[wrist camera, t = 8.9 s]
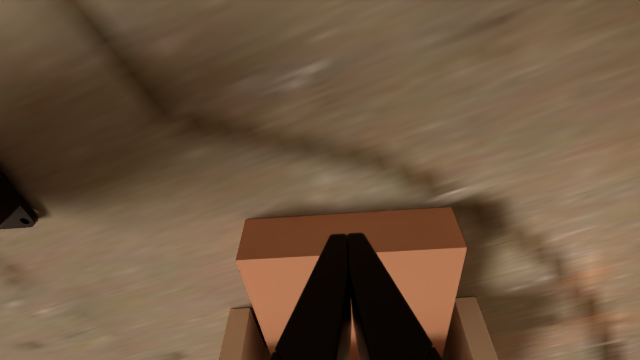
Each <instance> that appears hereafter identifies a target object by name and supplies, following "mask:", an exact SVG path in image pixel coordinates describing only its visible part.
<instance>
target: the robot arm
mask: <svg viewBox="0 0 640 360" xmlns="http://www.w3.org/2000/svg"><path fill="white" fill-rule="evenodd" d="M37 221H38V217H37V215H36V214H35V213H34V211H33V210H32V209H31V208H30V206H29V205H28V204H27V203H26V201H25V200H24V199H23V198H22V196H21V195H20V194H19V193H18V191H17V190H16V189H15V188H14V186H13V185H12V184H11V183H10V181H9V180H8V179H7V178H6V176H5V175H4V174H3V173H2V172H1V170H0V229H11V228H26V227H32V226H34V224H35V223H36V222H37ZM351 306H352V309H351ZM352 318H353V325H354V331H355V336H356V342H357V347H358V353H359V358H360V360H443V359H442V357H441V356H440V354H439V352H438V351H437V349H436V348H435V347H433V343H432V341H431V340H430V338H429V337H428V335H427V333H426V332H425V330H424V329H423V327H422V325H421V324H420V322H419V321H418V319H417V317H416V316H415V314H414V313H413V311H412V309H411V308H410V306H409V305H408V303H407V301H406V300H405V298H404V297H403V295H402V293H401V292H400V290H399V289H398V287H397V285H396V284H395V282H394V281H393V279H392V277H391V276H390V274H389V273H388V271H387V269H386V268H385V266H384V265H383V263H382V261H381V260H380V258H379V257H378V255H377V253H376V252H375V250H374V249H373V247H372V245H371V244H370V242H369V241H368V239H367V237H366V236H365V234H364V233H362V232H358V233H349V234H348V235H346V234H345V233H339V234H331V235H330V236H329V238H328V240H327V242H326V244H325V246H324V248H323V250H322V252H321V254H320V256H319V258H318V260H317V263H316V265H315V267H314V269H313V271H312V273H311V275H310V277H309V279H308V281H307V283H306V285H305V287H304V289H303V291H302V293H301V295H300V298H299V300H298V302H297V304H296V306H295V308H294V310H293V312H292V314H291V316H290V318H289V320H288V322H287V324H286V326H285V328H284V330H283V333H282V335H281V337H280V339H279V341H278V343H277V345H276V347H275V352H273V353H272V355H271V357H270V359H269V360H350V345H351V329H352Z"/></svg>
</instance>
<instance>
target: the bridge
mask: <svg viewBox="0 0 640 360" xmlns="http://www.w3.org/2000/svg"><path fill="white" fill-rule="evenodd" d="M270 357H271V355H270V352H269V349H268V348H265V346H264V343H263V341H262V338H261V335H260V333H259V330H258V328H257V325H256V323H255V320H254V317H253V315H252V312H251V310H250V308H240V309H230V312H229V317H228V321H227V326H226V330H225V335H224V339H223V343H222V348H221V352H220V357H219V360H269V359H270ZM442 359H443V360H498V357H497V354H496V352H495V349H494V346H493V343H492V341H491V338H490V335H489V332H488V330H487V327H486V324H485V322H484V319H483V316H482V313H481V311H480V308H479V305H478V302H477V300H476V297H465V298H456V299H455V303H454V307H453V312H452V316H451V320H450V325H449V329H448V334H447V338H446V342H445V347H444V351H443V356H442Z"/></svg>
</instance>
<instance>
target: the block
mask: <svg viewBox="0 0 640 360" xmlns="http://www.w3.org/2000/svg"><path fill="white" fill-rule="evenodd" d="M358 232H362V233H364V234H365V236H366V237H367V239H368V241H369V242H370V244H371V245H372V247H373V249H374V250H375V252H376V253H377V255H378V257H379V258H380V260H381V261H382V263H383V265H384V266H385V268H386V269H387V271H388V273H389V274H390V276H391V277H392V279H393V281H394V282H395V284H396V285H397V287H398V289H399V290H400V292H401V293H402V295H403V297H404V298H405V300H406V301H407V303H408V305H409V306H410V308H411V309H412V311H413V313H414V314H415V316H416V317H417V319H418V321H419V322H420V324H421V325H422V327H423V329H424V330H425V332H426V333H427V335H428V337H429V338H430V340H431V341H432V343H433V347H435V348H436V349H437V351H438V352H439V354H440V356H441V357H442V356H443V351H444V347H445V342H446V338H447V334H448V329H449V325H450V320H451V316H452V312H453V307H454V303H455V299H456V294H457V290H458V285H459V281H460V277H461V272H462V268H463V263H464V259H465V255H466V250H467V246H466V243H465V241H464V238H463V236H462V233H461V231H460V228H459V226H458V223H457V221H456V218H455V215H454V213H453V210H452V208H451V207H442V208H426V209H410V210H394V211H377V212H361V213H345V214H329V215H313V216H296V217H280V218H264V219H248V220H245V223H244V228H243V232H242V236H241V240H240V245H239V249H238V253H237V257H236V262H237V265H238V268H239V270H240V273H241V276H242V279H243V281H244V284H245V287H246V289H247V292H248V295H249V298H250V300H251V303H252V306H253V308H254V311H255V314H256V317H257V319H258V322H259V325H260V327H261V330H262V333H263V336H264V338H265V341H266V344H267V346H268V349H269V352H270V355H272V353H273V352H275V347H276V345H277V343H278V341H279V339H280V337H281V335H282V333H283V330H284V328H285V326H286V324H287V322H288V320H289V318H290V316H291V314H292V312H293V310H294V308H295V306H296V304H297V302H298V300H299V298H300V295H301V293H302V291H303V289H304V287H305V285H306V283H307V281H308V279H309V277H310V275H311V273H312V271H313V269H314V267H315V265H316V263H317V260H318V258H319V256H320V254H321V252H322V250H323V248H324V246H325V244H326V242H327V240H328V238H329V236H330V235H331V234H339V233H345V234H346V235H348V234H349V233H358ZM351 309H352V306H351ZM350 360H360V358H359V353H358V347H357V342H356V336H355V331H354V325H353V318H352V329H351V345H350Z"/></svg>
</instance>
